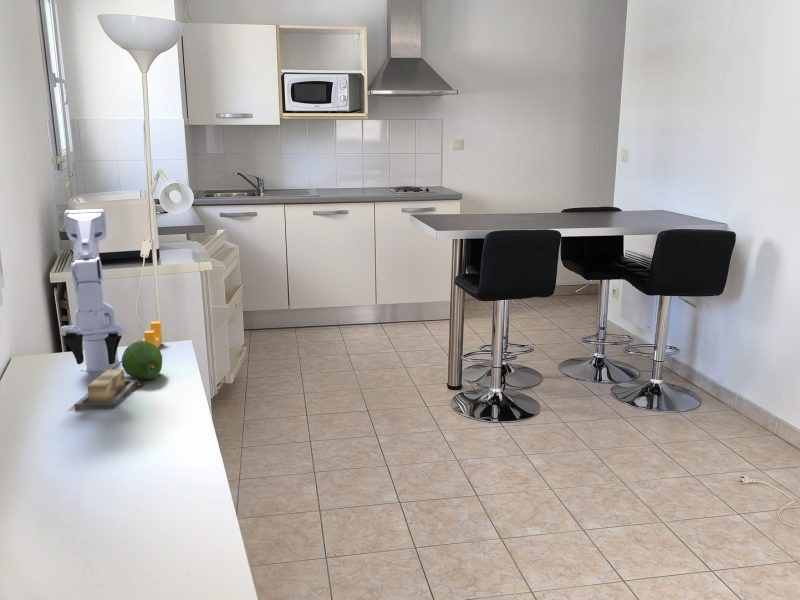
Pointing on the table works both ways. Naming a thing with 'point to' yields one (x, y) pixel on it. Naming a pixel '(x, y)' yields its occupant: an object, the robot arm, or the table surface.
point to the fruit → (142, 360)
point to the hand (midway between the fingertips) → (96, 363)
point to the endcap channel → (130, 387)
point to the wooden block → (106, 386)
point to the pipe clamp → (154, 334)
